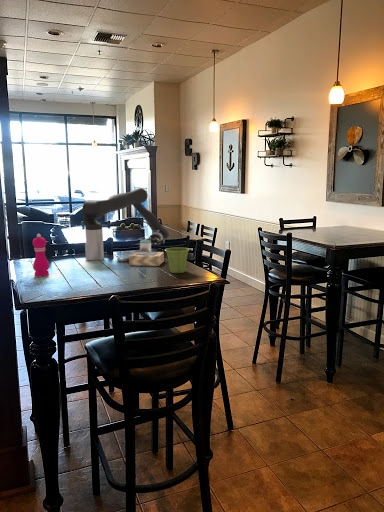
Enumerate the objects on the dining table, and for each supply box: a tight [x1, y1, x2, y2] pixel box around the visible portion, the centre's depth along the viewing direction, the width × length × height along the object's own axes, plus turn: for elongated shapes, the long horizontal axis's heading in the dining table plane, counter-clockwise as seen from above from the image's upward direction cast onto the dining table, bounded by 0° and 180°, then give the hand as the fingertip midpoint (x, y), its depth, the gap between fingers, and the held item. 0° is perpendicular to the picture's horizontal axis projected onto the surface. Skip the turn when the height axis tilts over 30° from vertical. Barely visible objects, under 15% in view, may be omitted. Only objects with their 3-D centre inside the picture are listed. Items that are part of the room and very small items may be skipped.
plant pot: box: [164, 247, 190, 274], centre depth 201 cm, size 12×12×11 cm
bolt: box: [117, 255, 130, 263], centre depth 228 cm, size 8×3×3 cm, turn 103°
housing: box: [139, 239, 152, 252], centre depth 237 cm, size 5×7×10 cm
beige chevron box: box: [128, 251, 165, 267], centre depth 224 cm, size 16×13×5 cm
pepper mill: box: [32, 233, 50, 278], centre depth 195 cm, size 7×7×20 cm
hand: (150, 243), depth 248 cm, fingers open, 8 cm apart
